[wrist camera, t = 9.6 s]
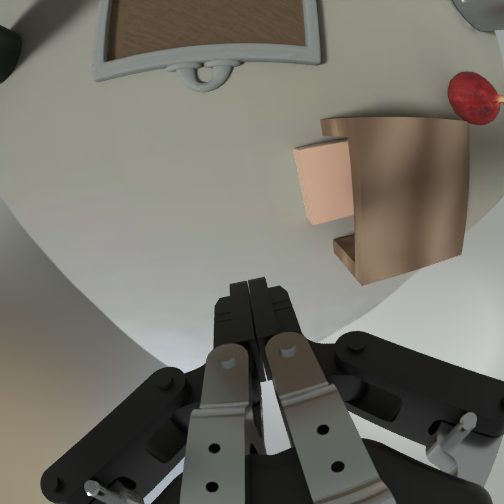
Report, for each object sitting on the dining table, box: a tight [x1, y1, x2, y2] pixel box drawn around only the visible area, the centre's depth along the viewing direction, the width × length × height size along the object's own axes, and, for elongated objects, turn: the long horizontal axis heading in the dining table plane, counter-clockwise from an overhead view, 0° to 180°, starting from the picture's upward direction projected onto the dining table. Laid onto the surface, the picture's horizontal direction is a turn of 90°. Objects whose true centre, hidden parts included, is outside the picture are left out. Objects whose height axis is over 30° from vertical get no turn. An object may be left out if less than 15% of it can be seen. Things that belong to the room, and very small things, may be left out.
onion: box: [448, 72, 504, 125], centre depth 17 cm, size 6×6×8 cm
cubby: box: [321, 117, 469, 286], centre depth 21 cm, size 12×13×6 cm
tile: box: [293, 139, 354, 225], centre depth 23 cm, size 13×6×2 cm, turn 104°
